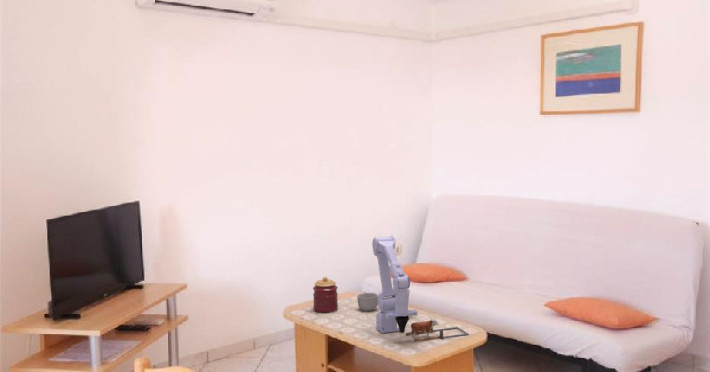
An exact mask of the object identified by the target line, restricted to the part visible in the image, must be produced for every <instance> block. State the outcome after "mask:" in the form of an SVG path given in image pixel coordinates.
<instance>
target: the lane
mask: <svg viewBox="0 0 710 372" xmlns="http://www.w3.org/2000/svg"><path fill="white" fill-rule="evenodd" d="M440 329H442V330H443V331H448V330H449V331H450V330H458V331H460V332H461V333H459V334H451V335H445V336H444V335H443V339H449V338H456V337H463V336H469V335H470V333H468V332H467V331H465V330H464V329H462V328H460V327H459V326H454V327H452V326H451V327H445V328H437V329H433V332H440ZM433 332H432V333H433Z"/></svg>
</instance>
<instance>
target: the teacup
mask: <svg viewBox="0 0 710 372" xmlns="http://www.w3.org/2000/svg"><path fill="white" fill-rule="evenodd" d="M378 295H379V294H378V293H375V292H363V293H359V294H358V295H357V296H356V298H357V305H358V308H359V309H360V310H362V311H363V312H373V311H374V310H375V309H376V308H378Z"/></svg>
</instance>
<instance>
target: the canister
mask: <svg viewBox="0 0 710 372" xmlns="http://www.w3.org/2000/svg"><path fill="white" fill-rule="evenodd" d="M336 284H337V283H336V281H334V280H332V279H328V277H327V276H323V277H322V279H318V280H317V281H316V282H314V286H313V287H312V290H313V311H314V312H316V313H320V314H324V313H326V314H327V313H333V312H336V311H338V308H339V304H338V303H339V302H338V294H339V293H338V291H337V290H338V286H337V285H336Z"/></svg>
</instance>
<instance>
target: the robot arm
mask: <svg viewBox="0 0 710 372" xmlns="http://www.w3.org/2000/svg"><path fill="white" fill-rule="evenodd" d="M371 244H372V245H371V246H372V252H373V255H374V256H376V258H377V263H378V270H379V277H380V283H381V290H382V291H380V292H379V293H378V294H377V295H378V305H377V308H378V310H379V311H378V312H377V313H376V315H375V316H376V317H375V319H376V320H375V321H376V326H375V329H376V330H377V331H379V332H380V333H381V334H384V333H385V334H386V333H395V332H399V333H401V334H405V332H406V326H407V323H408V322H409V320H410V316H418V310H416V309H412V310H410V309H409V300H408V289H407V288H409V289H410V285H411V281H410V277H409V275H408V274H407V273H405V271H404V268H403V266H402V263H400V262H398V259H397V255H396V251H395V249H396V239H395V237H394V236H393V235H390V236H380V237H376V236H375V237H373V239H372V243H371ZM393 287H394V290H393V289H392V288H393Z"/></svg>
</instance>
